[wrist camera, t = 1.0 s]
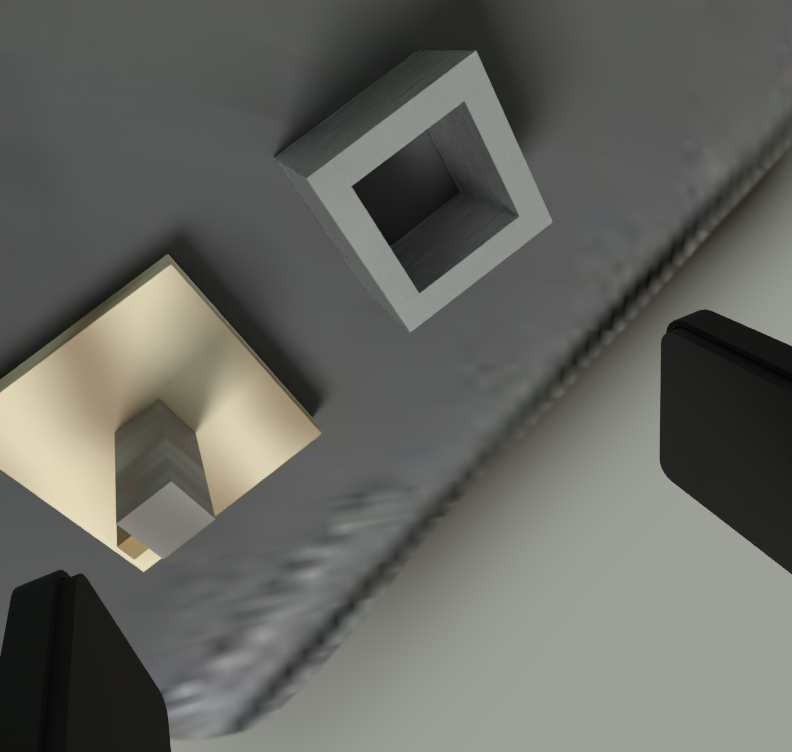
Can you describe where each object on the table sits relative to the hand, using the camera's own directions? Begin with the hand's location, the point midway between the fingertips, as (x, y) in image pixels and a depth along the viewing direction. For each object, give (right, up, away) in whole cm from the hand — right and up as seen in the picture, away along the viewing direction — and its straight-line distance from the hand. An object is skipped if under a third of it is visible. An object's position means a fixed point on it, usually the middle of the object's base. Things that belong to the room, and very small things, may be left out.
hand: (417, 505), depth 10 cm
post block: (-11, 0, +18) cm, 21 cm away
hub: (-1, +10, +17) cm, 20 cm away
